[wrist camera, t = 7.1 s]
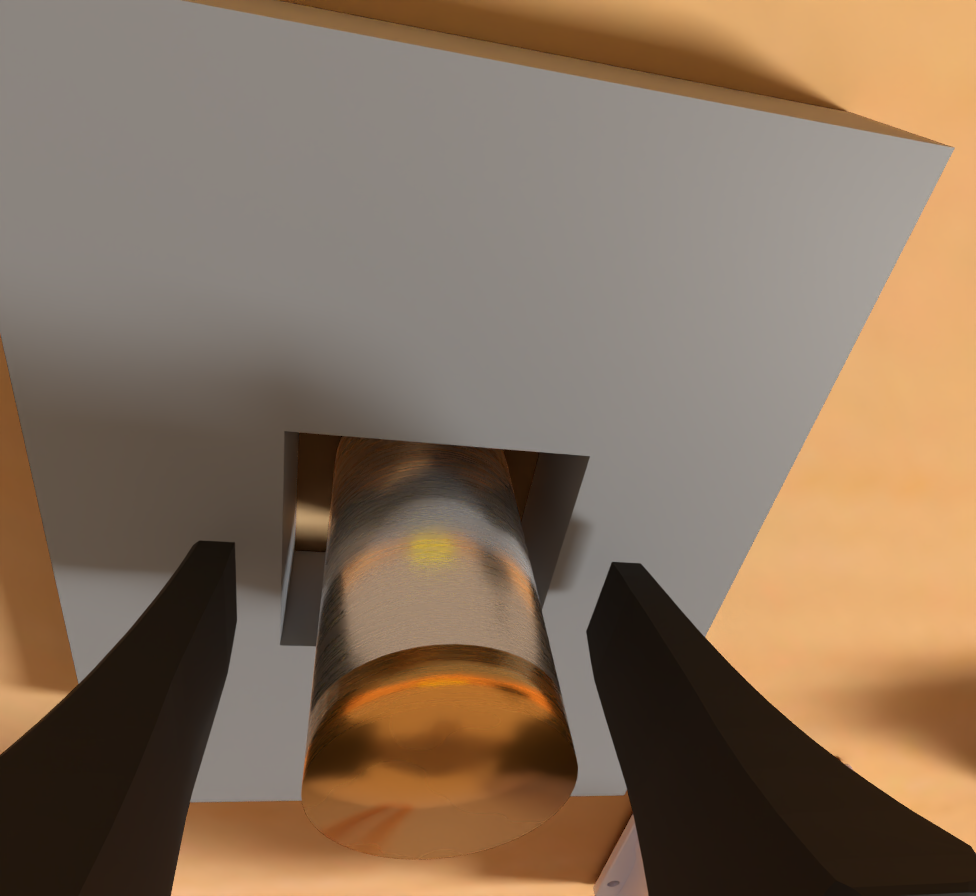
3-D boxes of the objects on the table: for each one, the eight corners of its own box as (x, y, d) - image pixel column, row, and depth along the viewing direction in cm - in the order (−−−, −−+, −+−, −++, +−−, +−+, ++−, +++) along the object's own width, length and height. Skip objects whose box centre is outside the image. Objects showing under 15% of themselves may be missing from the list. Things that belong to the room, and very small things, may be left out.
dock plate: (599, 706, 23) (624, 795, 21) (139, 701, 20) (105, 803, 18) (850, 112, 13) (954, 147, 11) (24, -50, 11) (-86, -52, 8)
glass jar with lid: (489, 533, 18) (547, 854, 12) (331, 526, 18) (299, 864, 11) (518, 400, 16) (608, 705, 10) (338, 385, 15) (304, 705, 9)
